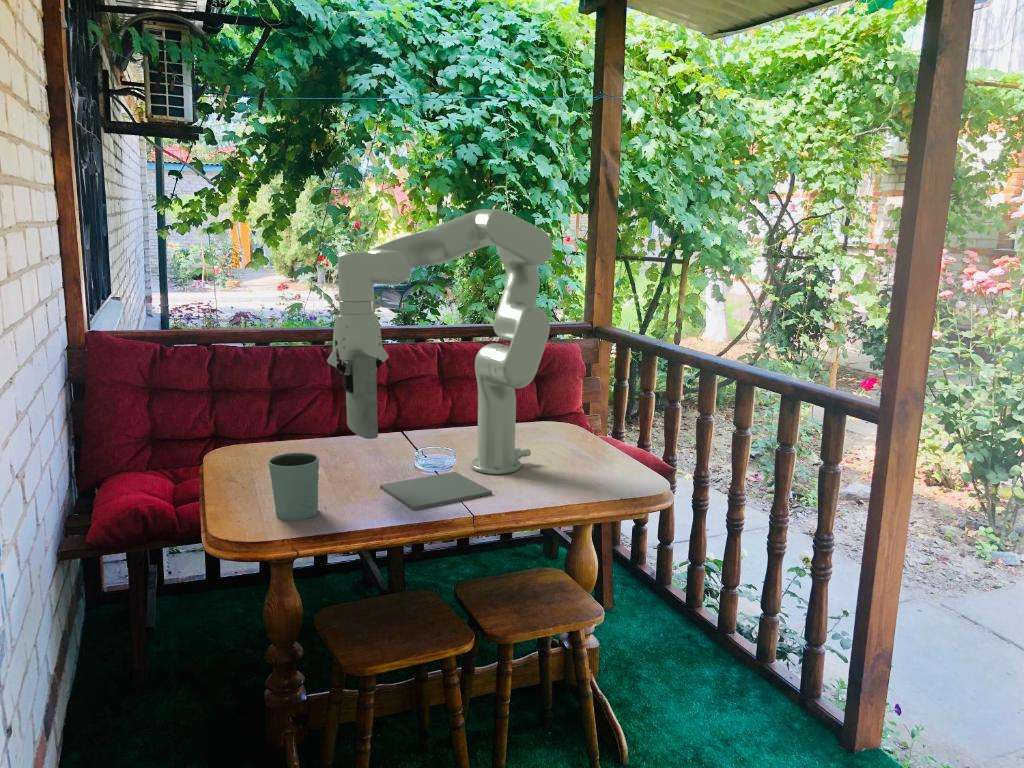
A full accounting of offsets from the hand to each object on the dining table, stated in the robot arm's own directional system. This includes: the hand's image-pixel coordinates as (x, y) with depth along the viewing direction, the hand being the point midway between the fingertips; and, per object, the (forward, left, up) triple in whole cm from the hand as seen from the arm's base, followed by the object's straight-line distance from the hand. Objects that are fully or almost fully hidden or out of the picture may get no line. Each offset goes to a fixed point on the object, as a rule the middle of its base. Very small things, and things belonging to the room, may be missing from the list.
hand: (359, 389), depth 175 cm
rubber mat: (-15, +8, -24) cm, 29 cm away
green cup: (+17, +6, -24) cm, 30 cm away
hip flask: (0, 0, -10) cm, 10 cm away
